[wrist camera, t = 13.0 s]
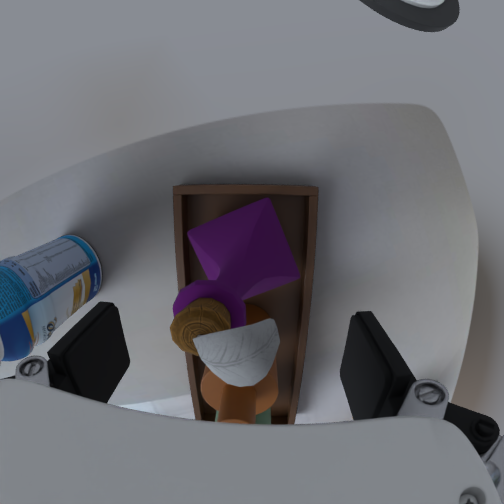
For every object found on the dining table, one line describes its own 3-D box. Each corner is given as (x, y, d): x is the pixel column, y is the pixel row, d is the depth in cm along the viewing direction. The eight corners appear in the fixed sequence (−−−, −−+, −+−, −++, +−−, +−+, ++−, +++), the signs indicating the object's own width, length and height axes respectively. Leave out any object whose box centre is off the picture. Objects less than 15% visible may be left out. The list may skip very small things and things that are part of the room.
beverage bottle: (91, 224, 27) (-58, 290, 8) (115, 295, 30) (2, 409, 10) (44, 241, 28) (-81, 302, 9) (66, 304, 30) (-37, 393, 11)
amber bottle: (215, 302, 29) (185, 398, 15) (274, 303, 29) (284, 402, 15) (218, 350, 30) (196, 450, 17) (272, 351, 30) (277, 454, 17)
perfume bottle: (226, 293, 28) (187, 438, 11) (194, 224, 27) (94, 310, 9) (296, 266, 28) (344, 400, 10) (267, 193, 26) (284, 234, 8)
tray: (180, 184, 26) (172, 186, 24) (313, 185, 26) (318, 187, 24) (199, 413, 34) (196, 426, 32) (292, 416, 34) (293, 429, 31)
